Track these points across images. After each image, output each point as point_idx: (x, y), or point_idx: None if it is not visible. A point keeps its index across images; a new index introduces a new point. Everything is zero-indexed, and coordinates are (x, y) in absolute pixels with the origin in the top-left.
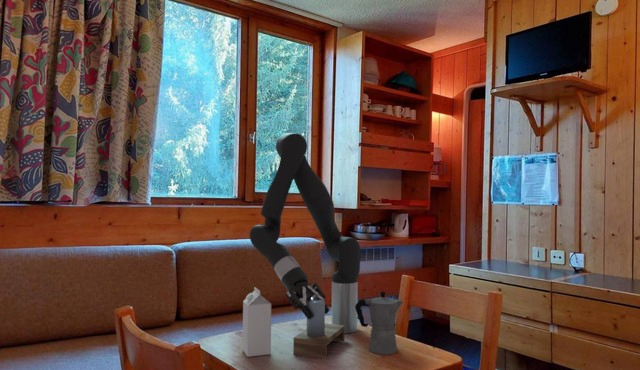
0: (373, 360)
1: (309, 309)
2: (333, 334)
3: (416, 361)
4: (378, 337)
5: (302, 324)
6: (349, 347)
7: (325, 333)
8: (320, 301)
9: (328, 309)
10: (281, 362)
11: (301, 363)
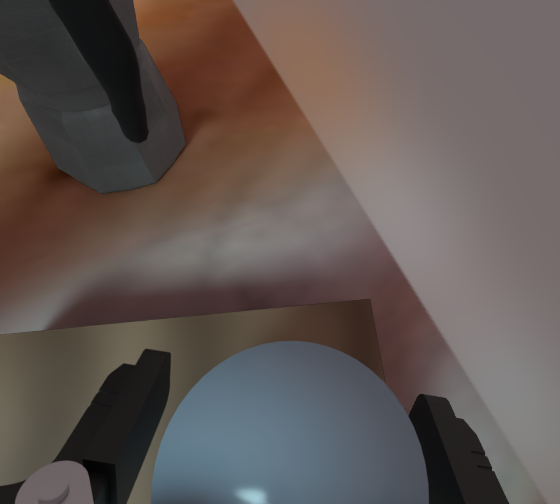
0: (267, 135)
1: (461, 455)
2: (219, 313)
3: (208, 15)
4: (159, 93)
5: None
6: (137, 278)
7: None
8: (267, 410)
9: (157, 353)
10: (502, 481)
11: (456, 381)
